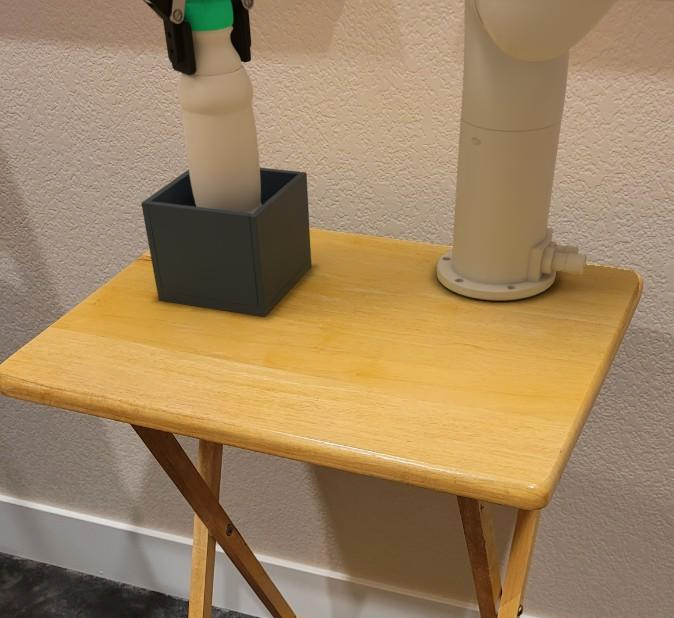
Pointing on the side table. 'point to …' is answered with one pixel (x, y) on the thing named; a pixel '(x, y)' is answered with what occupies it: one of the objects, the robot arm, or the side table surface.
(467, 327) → the side table surface
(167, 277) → the bin
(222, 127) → the water bottle
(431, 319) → the side table surface
